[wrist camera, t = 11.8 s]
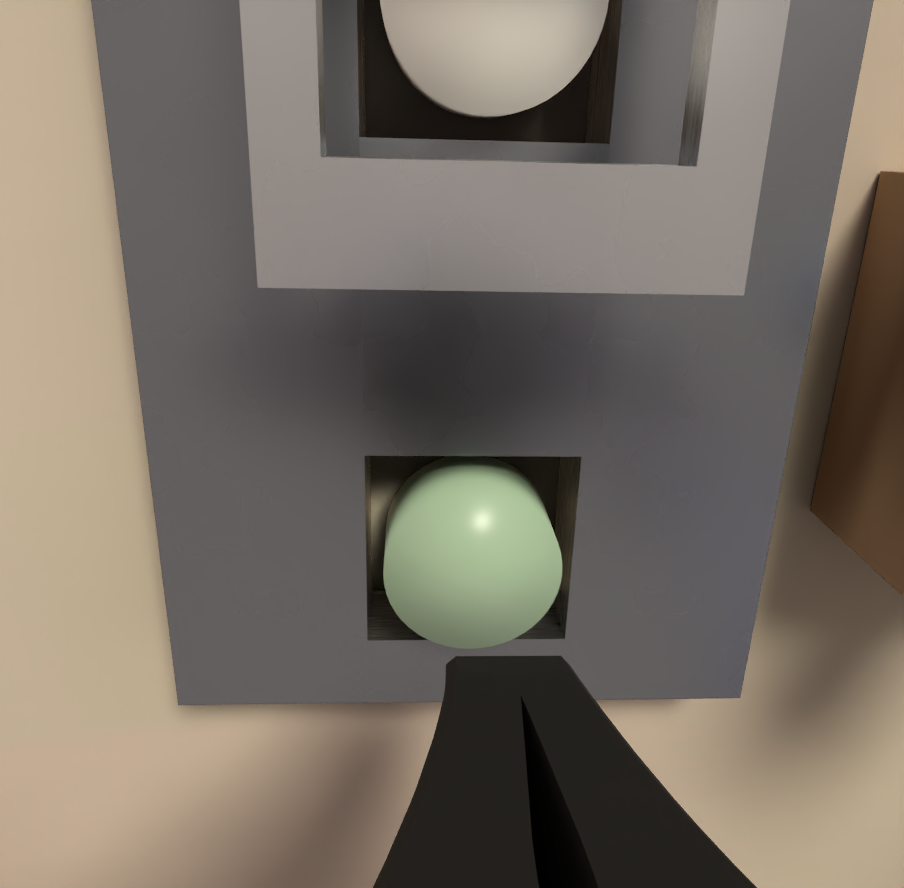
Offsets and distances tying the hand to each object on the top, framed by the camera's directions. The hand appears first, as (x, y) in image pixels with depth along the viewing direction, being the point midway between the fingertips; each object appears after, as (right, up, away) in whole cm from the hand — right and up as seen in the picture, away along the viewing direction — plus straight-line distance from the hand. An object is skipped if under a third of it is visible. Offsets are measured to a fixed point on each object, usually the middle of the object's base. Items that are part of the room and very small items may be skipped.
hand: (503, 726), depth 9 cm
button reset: (0, +9, +2) cm, 9 cm away
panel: (0, +6, +4) cm, 7 cm away
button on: (0, +2, +4) cm, 5 cm away
